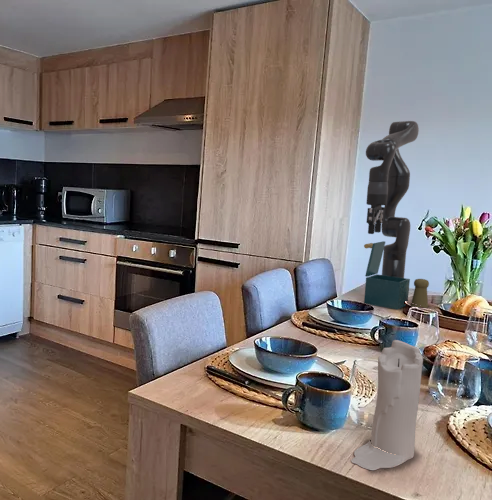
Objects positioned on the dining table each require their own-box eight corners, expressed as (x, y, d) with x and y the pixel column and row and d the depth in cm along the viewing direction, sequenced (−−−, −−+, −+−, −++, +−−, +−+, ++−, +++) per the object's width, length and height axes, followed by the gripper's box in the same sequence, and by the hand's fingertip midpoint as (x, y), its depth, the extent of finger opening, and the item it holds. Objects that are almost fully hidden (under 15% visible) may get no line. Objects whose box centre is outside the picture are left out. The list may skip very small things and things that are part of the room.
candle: (341, 457, 90) (349, 349, 87) (383, 435, 98) (392, 336, 95) (379, 477, 84) (389, 362, 81) (421, 452, 92) (432, 346, 89)
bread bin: (407, 305, 202) (409, 278, 201) (397, 309, 195) (400, 282, 193) (374, 299, 211) (376, 274, 210) (363, 303, 204) (365, 277, 202)
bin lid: (385, 241, 206) (373, 238, 210) (375, 243, 199) (362, 240, 202) (377, 273, 210) (365, 270, 213) (367, 276, 202) (354, 273, 205)
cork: (423, 304, 203) (426, 277, 202) (430, 308, 197) (433, 280, 196) (408, 304, 204) (410, 277, 202) (414, 307, 198) (417, 280, 196)
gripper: (382, 193, 195) (378, 235, 198) (392, 193, 206) (389, 232, 208) (361, 193, 200) (358, 233, 203) (373, 192, 211) (370, 231, 213)
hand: (374, 233), depth 205 cm, fingers open, 8 cm apart
